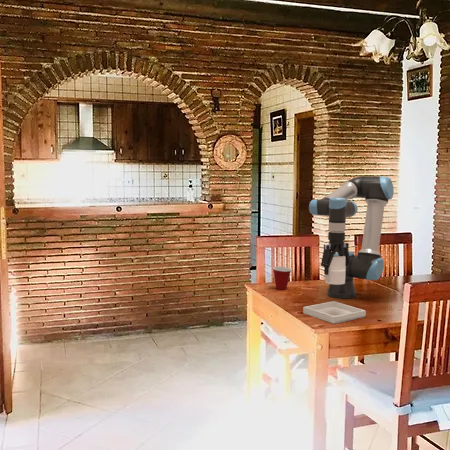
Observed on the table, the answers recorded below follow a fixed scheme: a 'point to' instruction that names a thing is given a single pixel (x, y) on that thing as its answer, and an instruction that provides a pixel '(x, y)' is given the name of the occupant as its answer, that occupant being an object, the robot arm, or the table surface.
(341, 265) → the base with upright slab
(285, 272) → the plastic cup
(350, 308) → the tray
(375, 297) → the table surface
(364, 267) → the robot arm
